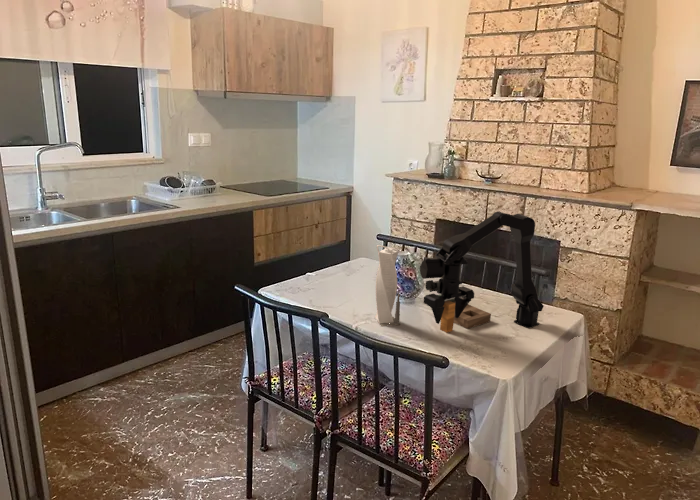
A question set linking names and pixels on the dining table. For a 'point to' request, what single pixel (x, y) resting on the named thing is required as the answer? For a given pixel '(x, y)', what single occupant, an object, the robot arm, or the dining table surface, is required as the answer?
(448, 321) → the peg
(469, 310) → the socket board
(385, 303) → the skyscraper
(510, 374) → the dining table surface
